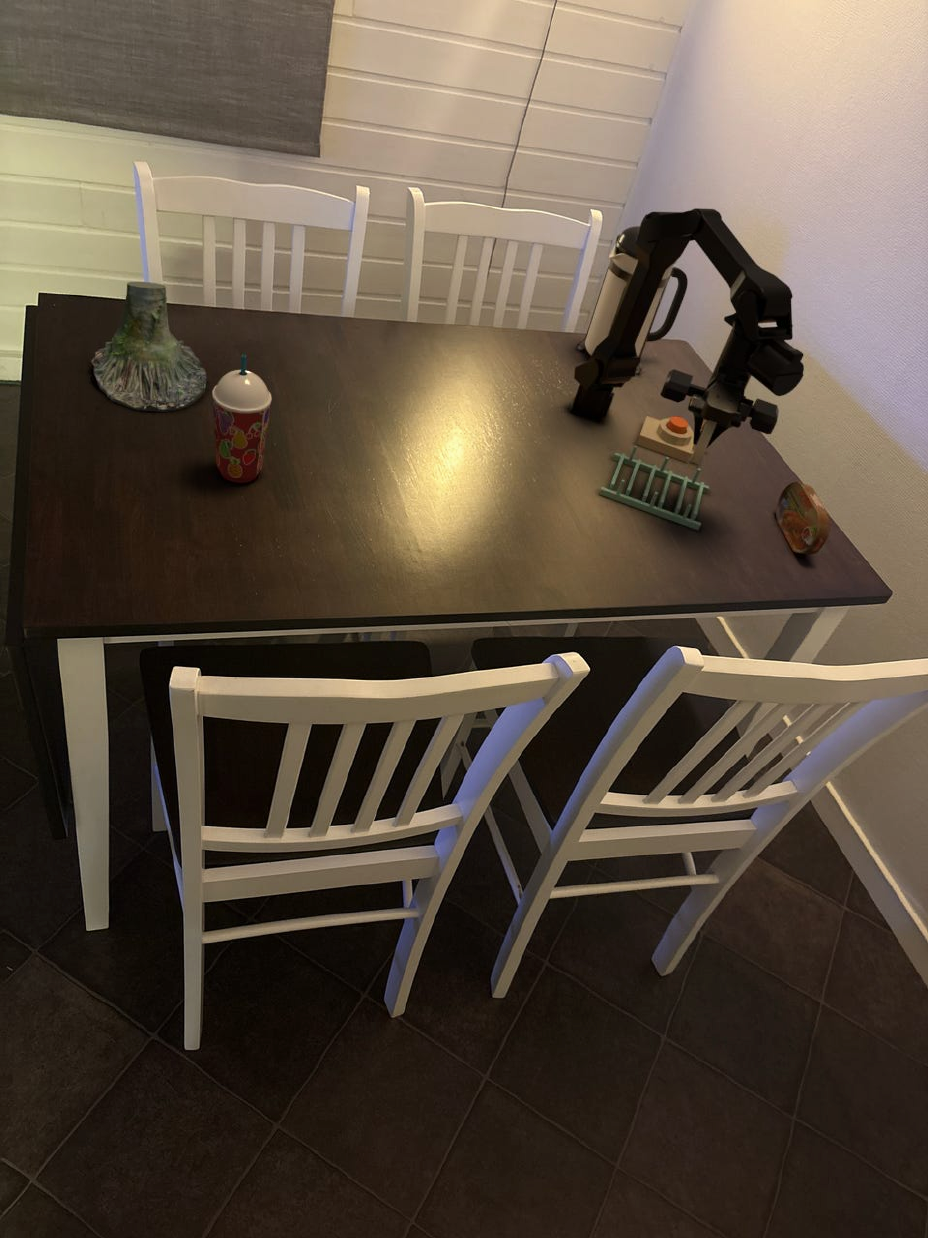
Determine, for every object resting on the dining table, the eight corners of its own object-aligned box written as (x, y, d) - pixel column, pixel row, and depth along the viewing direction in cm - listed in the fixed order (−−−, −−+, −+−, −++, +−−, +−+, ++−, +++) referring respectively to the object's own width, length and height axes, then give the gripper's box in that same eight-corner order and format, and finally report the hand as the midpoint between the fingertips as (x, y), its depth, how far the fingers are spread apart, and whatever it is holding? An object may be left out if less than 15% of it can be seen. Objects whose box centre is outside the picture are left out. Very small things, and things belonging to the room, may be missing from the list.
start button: (665, 430, 169) (668, 422, 167) (668, 421, 171) (671, 414, 170) (683, 437, 168) (687, 429, 167) (686, 428, 171) (689, 420, 170)
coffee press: (630, 388, 186) (684, 245, 165) (563, 357, 189) (608, 214, 169) (659, 361, 198) (712, 225, 177) (595, 332, 201) (640, 196, 181)
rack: (599, 494, 155) (606, 475, 152) (613, 457, 165) (620, 439, 162) (698, 530, 153) (707, 512, 151) (706, 491, 163) (715, 473, 160)
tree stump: (89, 412, 142) (74, 295, 133) (98, 375, 159) (86, 269, 150) (208, 413, 147) (202, 300, 138) (206, 377, 164) (200, 274, 155)
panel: (635, 444, 170) (643, 426, 167) (642, 425, 176) (650, 407, 173) (696, 466, 169) (704, 448, 166) (701, 446, 175) (709, 428, 172)
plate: (684, 472, 150) (706, 424, 143) (691, 447, 156) (712, 400, 150) (693, 476, 150) (715, 427, 143) (700, 451, 156) (721, 403, 150)
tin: (770, 509, 163) (791, 471, 158) (786, 511, 164) (808, 473, 158) (797, 563, 153) (821, 525, 147) (814, 565, 153) (838, 527, 148)
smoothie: (276, 469, 141) (284, 354, 128) (249, 495, 135) (255, 378, 122) (229, 450, 142) (232, 334, 129) (200, 475, 136) (201, 357, 123)
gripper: (673, 362, 135) (639, 448, 146) (792, 403, 133) (749, 488, 144) (683, 334, 143) (650, 418, 154) (796, 373, 141) (754, 455, 152)
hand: (699, 445), depth 151 cm, fingers closed on plate, 2 cm apart
